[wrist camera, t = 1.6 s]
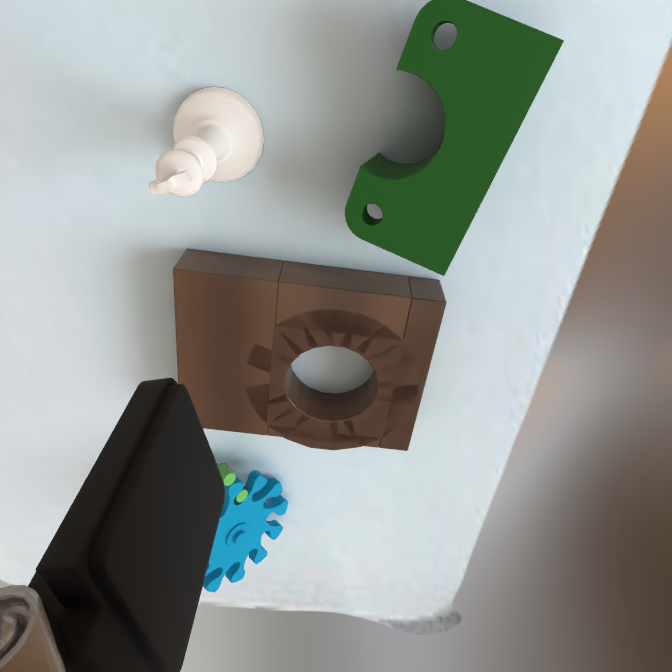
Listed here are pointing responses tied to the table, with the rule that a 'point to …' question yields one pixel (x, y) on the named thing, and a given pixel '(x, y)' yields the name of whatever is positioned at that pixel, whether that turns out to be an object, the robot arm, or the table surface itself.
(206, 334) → the pad
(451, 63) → the clamp
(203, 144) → the chess piece
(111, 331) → the table surface
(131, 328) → the table surface
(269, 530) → the blue slotted cogwheel
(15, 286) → the table surface
